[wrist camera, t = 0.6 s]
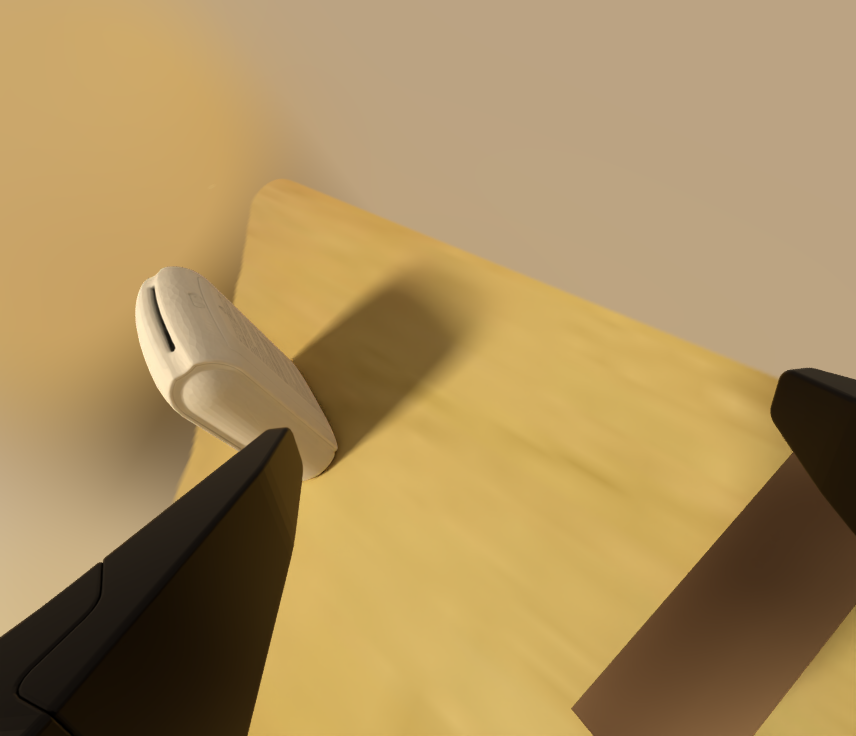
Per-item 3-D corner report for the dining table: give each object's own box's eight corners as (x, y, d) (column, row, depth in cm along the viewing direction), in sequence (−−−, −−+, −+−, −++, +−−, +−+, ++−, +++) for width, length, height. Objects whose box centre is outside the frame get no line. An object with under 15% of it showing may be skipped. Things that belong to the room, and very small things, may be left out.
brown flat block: (849, 538, 19) (963, 465, 12) (655, 779, 17) (675, 835, 11) (770, 488, 20) (836, 402, 14) (588, 700, 19) (571, 708, 12)
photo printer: (249, 391, 35) (105, 279, 25) (295, 357, 35) (172, 233, 25) (294, 497, 28) (125, 401, 19) (350, 454, 29) (213, 338, 19)
